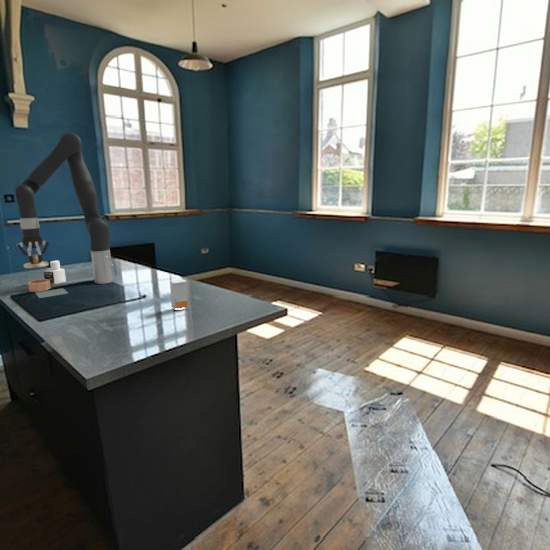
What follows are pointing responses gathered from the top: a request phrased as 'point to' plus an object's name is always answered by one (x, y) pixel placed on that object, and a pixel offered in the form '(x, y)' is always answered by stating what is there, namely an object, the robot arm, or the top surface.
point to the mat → (51, 293)
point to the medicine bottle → (54, 272)
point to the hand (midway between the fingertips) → (35, 262)
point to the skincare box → (179, 293)
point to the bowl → (39, 285)
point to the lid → (36, 262)
